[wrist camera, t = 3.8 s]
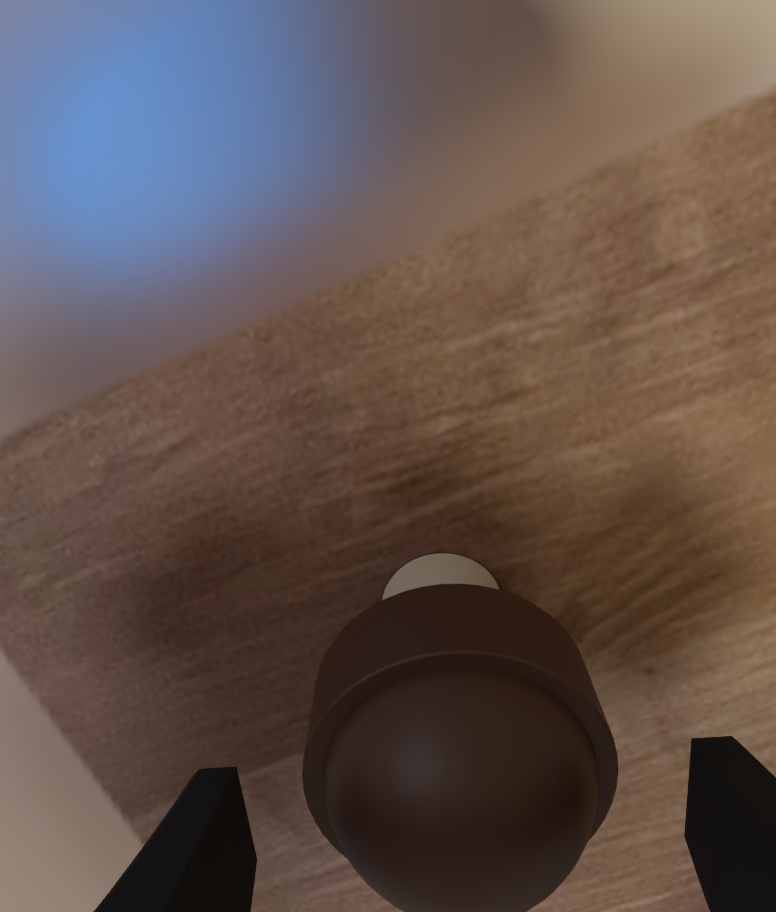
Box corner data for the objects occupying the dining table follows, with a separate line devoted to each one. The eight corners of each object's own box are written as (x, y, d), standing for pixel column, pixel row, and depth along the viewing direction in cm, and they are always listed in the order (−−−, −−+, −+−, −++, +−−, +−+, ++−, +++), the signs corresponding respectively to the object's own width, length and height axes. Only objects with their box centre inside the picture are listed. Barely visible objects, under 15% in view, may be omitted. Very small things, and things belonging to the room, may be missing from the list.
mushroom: (344, 701, 18) (310, 1019, 11) (317, 513, 16) (256, 757, 9) (554, 687, 17) (652, 1003, 11) (552, 494, 16) (667, 730, 9)
